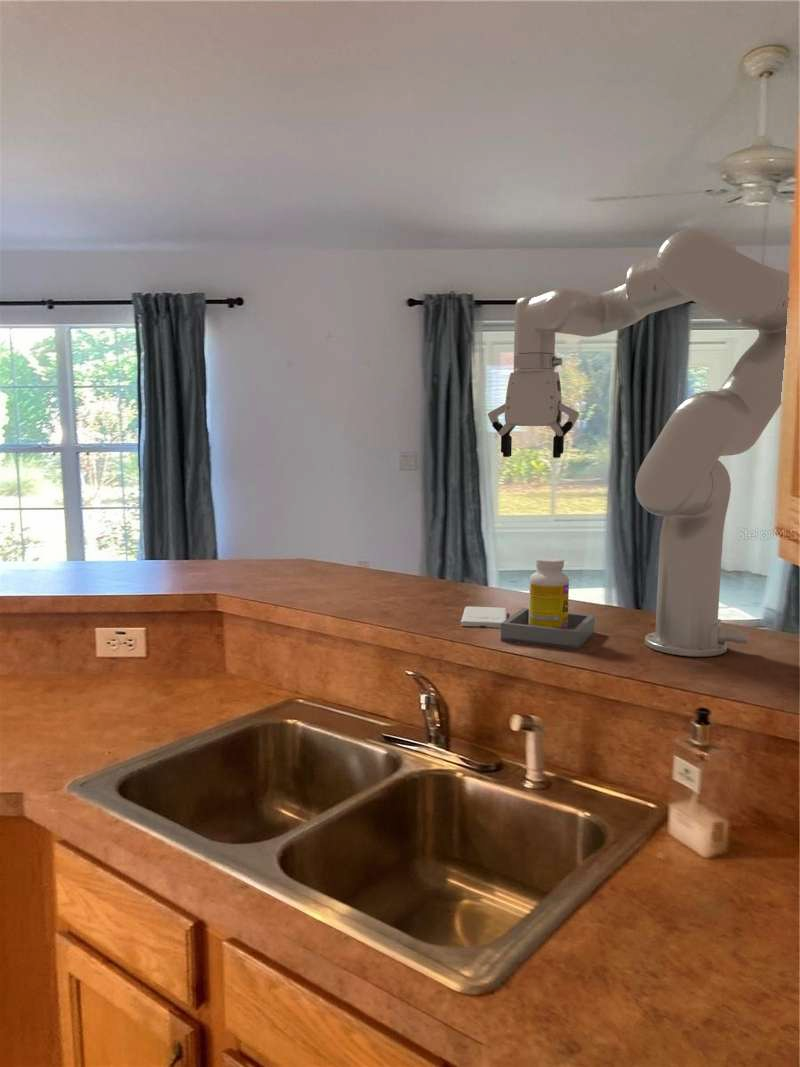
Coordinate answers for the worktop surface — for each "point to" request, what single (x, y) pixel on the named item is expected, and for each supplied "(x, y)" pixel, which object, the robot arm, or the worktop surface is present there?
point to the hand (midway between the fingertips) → (531, 457)
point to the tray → (548, 631)
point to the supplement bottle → (549, 594)
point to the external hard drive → (484, 616)
